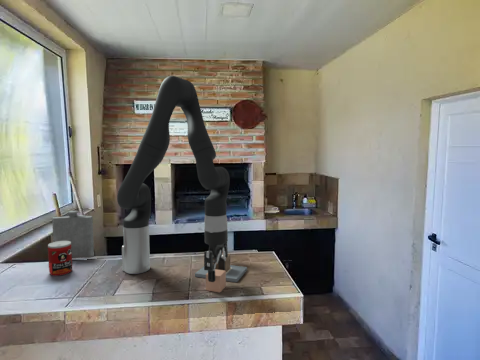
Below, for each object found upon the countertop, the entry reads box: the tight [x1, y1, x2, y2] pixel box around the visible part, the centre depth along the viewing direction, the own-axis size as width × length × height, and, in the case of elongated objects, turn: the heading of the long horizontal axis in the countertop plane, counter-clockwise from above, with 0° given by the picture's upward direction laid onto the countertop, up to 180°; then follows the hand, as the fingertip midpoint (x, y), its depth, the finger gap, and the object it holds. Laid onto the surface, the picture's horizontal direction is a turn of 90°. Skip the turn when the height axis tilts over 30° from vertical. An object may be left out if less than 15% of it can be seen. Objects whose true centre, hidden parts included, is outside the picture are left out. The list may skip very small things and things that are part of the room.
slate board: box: [194, 263, 248, 283], centre depth 118 cm, size 16×12×1 cm
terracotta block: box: [205, 269, 227, 293], centre depth 105 cm, size 5×5×6 cm
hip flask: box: [51, 210, 95, 259], centre depth 135 cm, size 16×4×20 cm, turn 98°
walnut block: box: [215, 253, 231, 272], centre depth 117 cm, size 5×5×6 cm
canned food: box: [47, 241, 73, 277], centre depth 119 cm, size 8×8×11 cm
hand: (217, 276), depth 104 cm, fingers open, 8 cm apart
